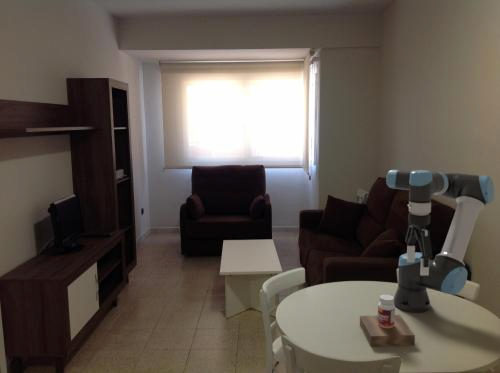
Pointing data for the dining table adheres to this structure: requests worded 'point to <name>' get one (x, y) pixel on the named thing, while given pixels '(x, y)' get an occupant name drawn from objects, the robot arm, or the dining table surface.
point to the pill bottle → (386, 311)
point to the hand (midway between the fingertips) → (417, 268)
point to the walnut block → (387, 332)
